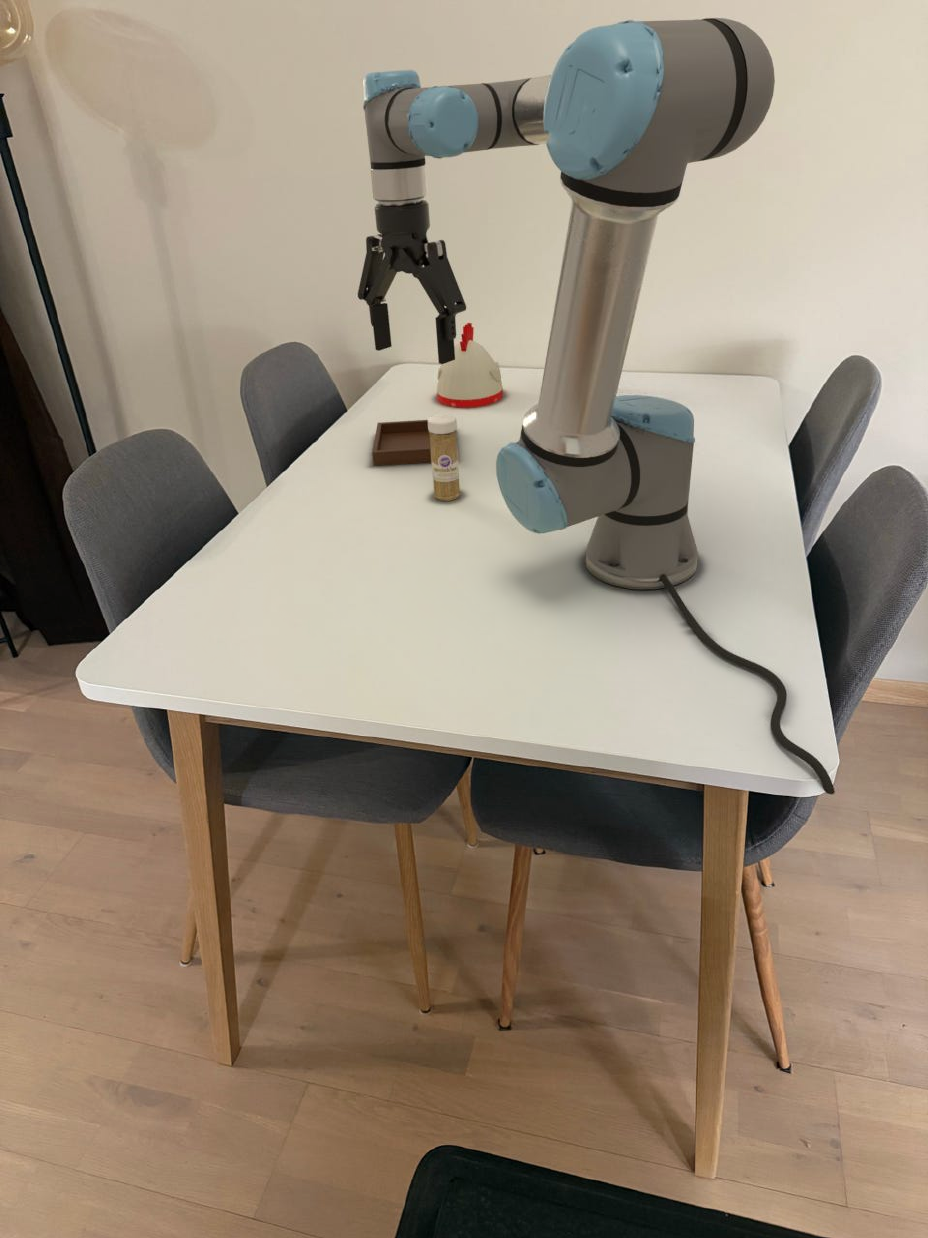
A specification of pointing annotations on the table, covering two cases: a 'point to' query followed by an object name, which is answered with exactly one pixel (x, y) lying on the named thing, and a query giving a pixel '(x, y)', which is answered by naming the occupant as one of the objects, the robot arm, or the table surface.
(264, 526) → the table surface
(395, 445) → the wooden tray
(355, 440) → the table surface
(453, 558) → the table surface
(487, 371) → the kitchen timer
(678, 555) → the robot arm
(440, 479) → the sprinkles bottle
